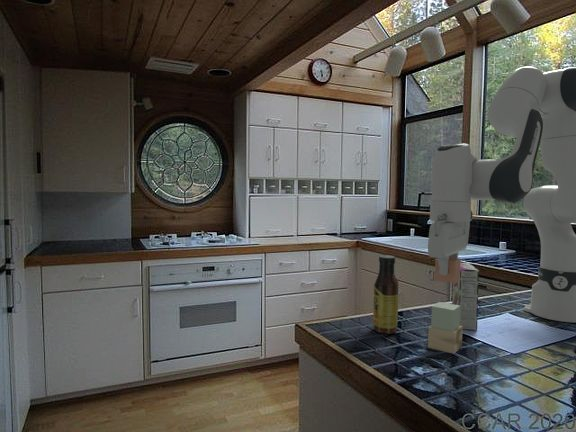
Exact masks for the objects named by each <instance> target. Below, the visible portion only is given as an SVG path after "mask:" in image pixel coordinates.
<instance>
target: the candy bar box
mask: <svg viewBox="0 0 576 432" xmlns="http://www.w3.org/2000/svg"><path fill="white" fill-rule="evenodd" d="M479 275H480V270H479V269H478V268H476V267H475V266H474V265H473V264H472V263H471V262H461V266H460V280H459V281H458V282H456V283H452V300H451V304H454V305H460V326H463V327H462V331H475V330H477V331H478V318H479V315H478V313H479V312H478V311H479V310H478V309H479V283H480V282H479Z"/></svg>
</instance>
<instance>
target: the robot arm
mask: <svg viewBox="0 0 576 432" xmlns="http://www.w3.org/2000/svg"><path fill="white" fill-rule="evenodd" d="M487 118H488V122H489V124H490V125H491V127H492V128H493V129H494V130H495V131H496V132H498V133H499V134H500V135H503V136H506V137H510V138H515V141H514V144H513V147H512V151H511V153H510V154H509V155H506V156H504V157H500V158H492V159H491V158H490V159H479V158H478V157H476V156H474V155H473V154H472V151H471V150H472V149H471V145H470V144H468V143H453V144H445V145H442V146H439V147H437V148H436V149H435V151H434V154H433V158H432V162H431V176H430V178H431V179H430V183H431V187H432V191H431V192H432V193H431V197H430V203H429V204H430V205H429V221H432V222H431V224H430V226H429V232H428V242H427V253H428V257H429V258H434V259H438V264H439V274H440V275H447V274H449V267H448V260H449V258H456V259H459V253H460V252H462V251H464V250H466V249H467V246H468V243H469V238H470V237H469V236H470V227H471V226H470V225H471V224H470V223H471V221H473V211H472V200H477V201H497V202H503V203H511V204H514V203H518V202H519V201H521V200H522V199H523V210H524V212H525V213H526V214H527V215H528V217H530V218H531V220H532V221H533V223H534V224H535V227H536V229H537V232H538V236H539V240H540V266H539V267H538V271H537V275H538V276H537V278H538V280H537V281H536V282H534V283H533V284H532V286H531V295H530V303H529V304H527V305H525V306H524V307H523V311H524V312H527V313H531V314H533V315H535V316H537V317H540V318H543V319H547V320H552V321H557V322H565V323H576V233H575V231H574V229H573V226H572V224H576V66H568V67H567V68H563V69H556V70H551V71H547V72H546V71H545V72H543V71H542V70H540V69H539V68H537V67H533V66H522V67H519V68H517V69H515V70H514V71H513V72H511V74H509V76H507V78H506V79H505V80H504V82H503V83H502V84H501V85H500V87H498V89H497V91H496V93H495V94H494V96H493V98H492V99H491V101H490V103H489V106H488V109H487ZM539 149H540V150H541V152H540V153H541V155H540V156H541V165H542V167H543V168H544V169H545V170H546V171H548V172H550V173H551V175H552V176H553V177H554V180H555V182H556V184H552V185H551V184H548V185H547V184H546V185H545V184H544V185H542V186H537V187H534V188H532V187H533V182H534V168H535V164H536V160H537V156H538V152H539Z"/></svg>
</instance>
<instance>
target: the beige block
mask: <svg viewBox="0 0 576 432" xmlns="http://www.w3.org/2000/svg"><path fill="white" fill-rule="evenodd" d="M462 327H463V326H459V327H458V328H457V329H456V330H455V331H453V332H452V331H447V330H442V329H437V328H433V327H431V325H430V326H428V334H427V336H428V339H427V340H428V341H427V348H428V349H432V350H437V351H440V352H445V353H449V354H454V355H455V354H456V353H457V352H458V351H459V350H460V349H461V348H462V346H463V330H462Z"/></svg>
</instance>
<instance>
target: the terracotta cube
mask: <svg viewBox="0 0 576 432" xmlns="http://www.w3.org/2000/svg"><path fill="white" fill-rule="evenodd" d="M434 259H435V261H434V262H435V264H434V265H435V266H434V281H437V282H442V283H443V282H444V283H451V284H453V283H456V282H458V281H459V280H460V266H461V263H462V261H461V260H462V259H461V258H458V259H456V258H449V260H448V267H449V274H447V275H440V274H439V264H438V258H434Z"/></svg>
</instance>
